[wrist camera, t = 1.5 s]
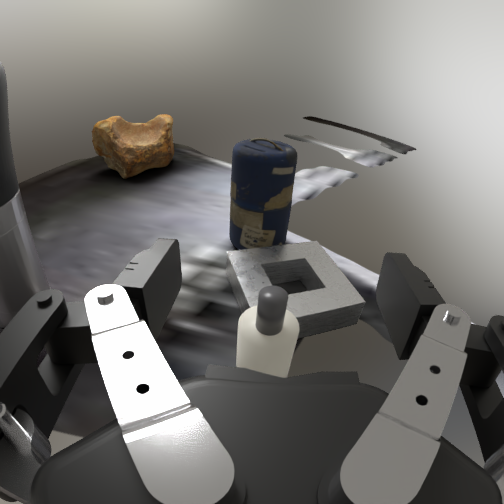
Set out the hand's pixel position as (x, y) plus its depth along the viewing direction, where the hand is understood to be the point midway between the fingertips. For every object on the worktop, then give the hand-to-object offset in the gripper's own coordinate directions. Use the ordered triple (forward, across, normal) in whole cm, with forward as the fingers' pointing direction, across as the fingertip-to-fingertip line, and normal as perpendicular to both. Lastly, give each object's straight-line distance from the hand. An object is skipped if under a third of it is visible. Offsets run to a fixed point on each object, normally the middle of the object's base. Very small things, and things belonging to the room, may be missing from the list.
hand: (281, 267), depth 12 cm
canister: (+38, +3, +17) cm, 42 cm away
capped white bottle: (+9, +1, +21) cm, 23 cm away
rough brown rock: (+68, +37, +11) cm, 79 cm away
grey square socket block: (+25, -2, +19) cm, 32 cm away
